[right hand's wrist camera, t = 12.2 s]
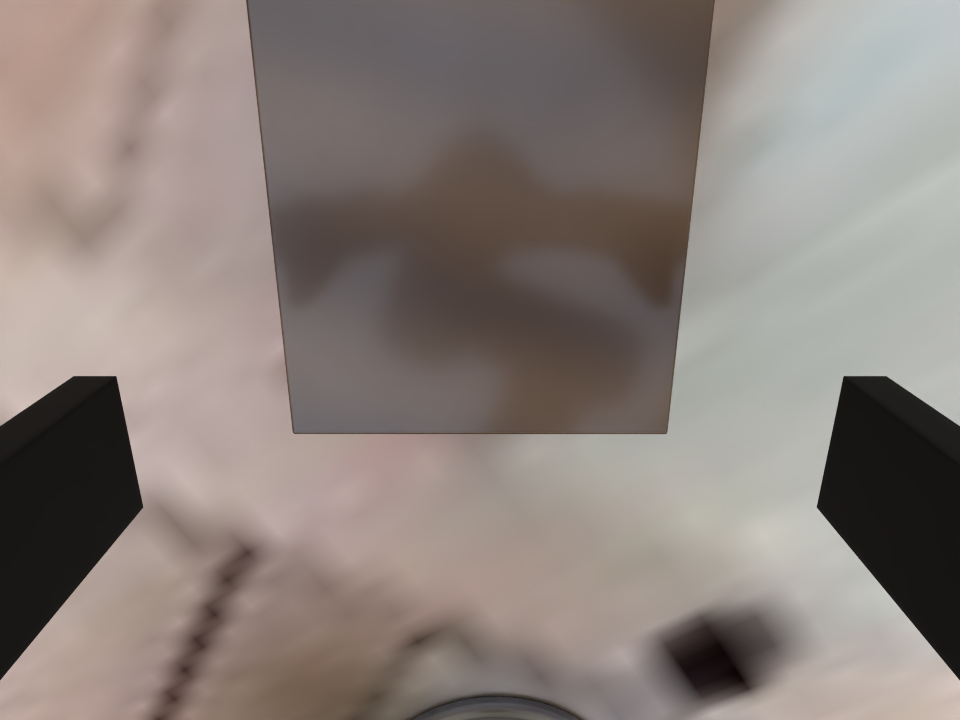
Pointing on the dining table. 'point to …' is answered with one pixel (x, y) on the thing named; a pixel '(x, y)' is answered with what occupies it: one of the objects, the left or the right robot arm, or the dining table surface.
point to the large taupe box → (480, 208)
